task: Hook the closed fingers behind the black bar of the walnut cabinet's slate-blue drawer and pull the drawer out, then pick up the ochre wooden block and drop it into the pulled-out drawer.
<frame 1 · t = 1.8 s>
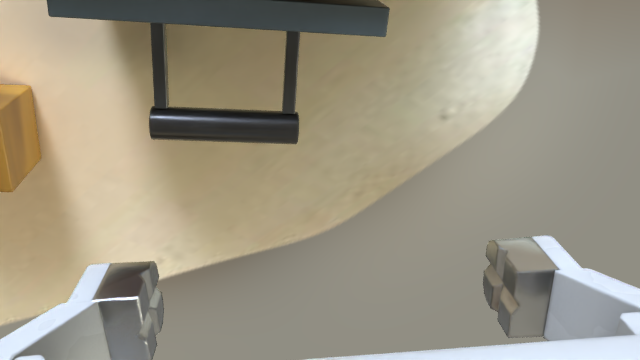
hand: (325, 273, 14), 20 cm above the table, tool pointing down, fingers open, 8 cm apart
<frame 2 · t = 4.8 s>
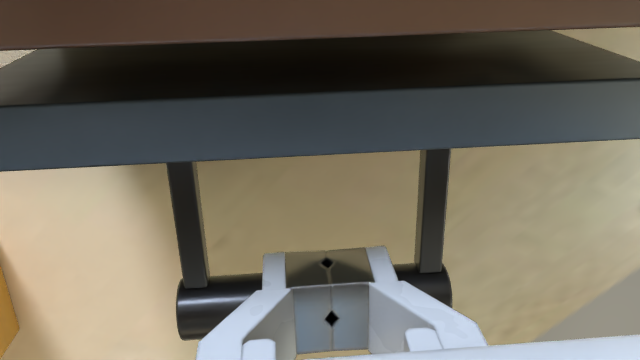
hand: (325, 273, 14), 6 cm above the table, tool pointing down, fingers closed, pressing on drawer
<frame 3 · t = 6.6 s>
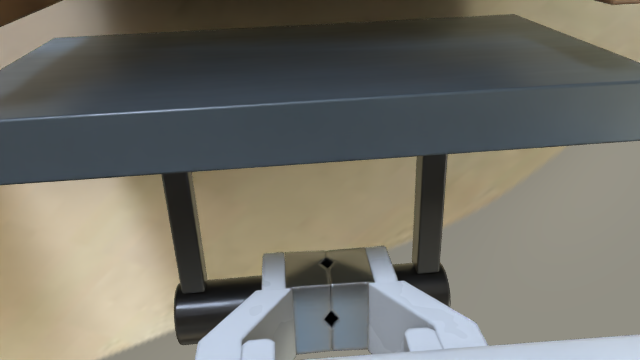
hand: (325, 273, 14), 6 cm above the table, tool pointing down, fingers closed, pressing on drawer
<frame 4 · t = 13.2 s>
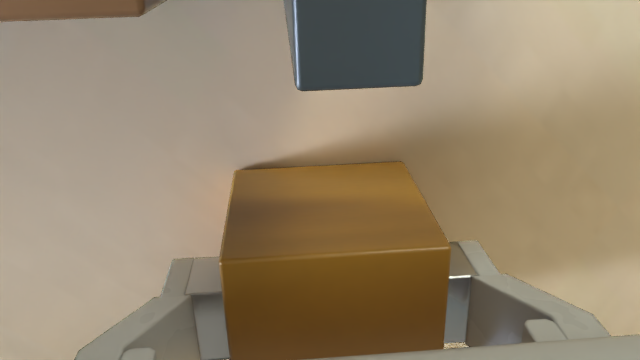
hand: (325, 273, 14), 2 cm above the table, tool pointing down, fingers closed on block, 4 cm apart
block: (321, 238, 15), on the table, touching gripper
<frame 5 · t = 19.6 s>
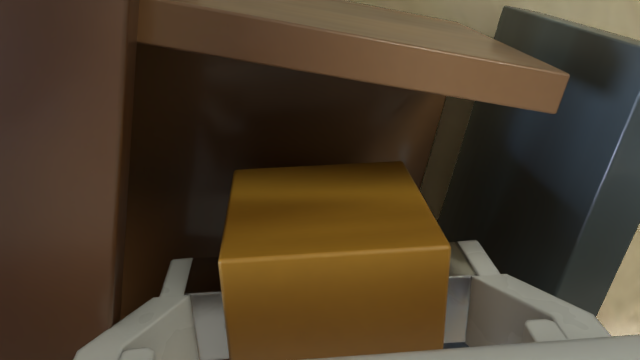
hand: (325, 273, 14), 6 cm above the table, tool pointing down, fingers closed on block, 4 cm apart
block: (321, 238, 15), point 5 cm above the table, touching gripper
drawer: (392, 248, 15), point 5 cm above the table, slide at 9.0 cm
when the fingers open (6 cm above the table, at t = 19.8 s): block drops 3 cm, resting on drawer.
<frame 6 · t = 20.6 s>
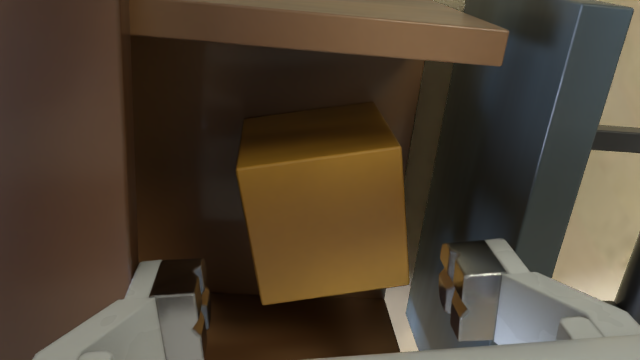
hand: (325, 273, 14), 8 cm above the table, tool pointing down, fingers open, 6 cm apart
block: (316, 169, 19), point 2 cm above the table, touching drawer
drawer: (384, 207, 17), point 5 cm above the table, slide at 9.1 cm, touching block
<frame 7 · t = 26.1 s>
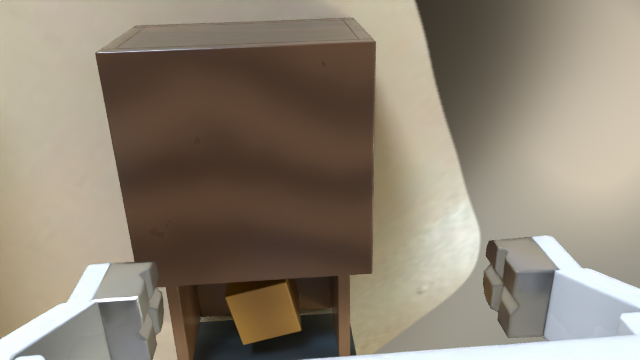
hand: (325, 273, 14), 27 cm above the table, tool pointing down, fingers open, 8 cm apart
block: (264, 279, 43), point 2 cm above the table, touching drawer
drawer: (265, 320, 42), point 5 cm above the table, slide at 9.1 cm, touching block
cabinet: (253, 125, 40), on the table
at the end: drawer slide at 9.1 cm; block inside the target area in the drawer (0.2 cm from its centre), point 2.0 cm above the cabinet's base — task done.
